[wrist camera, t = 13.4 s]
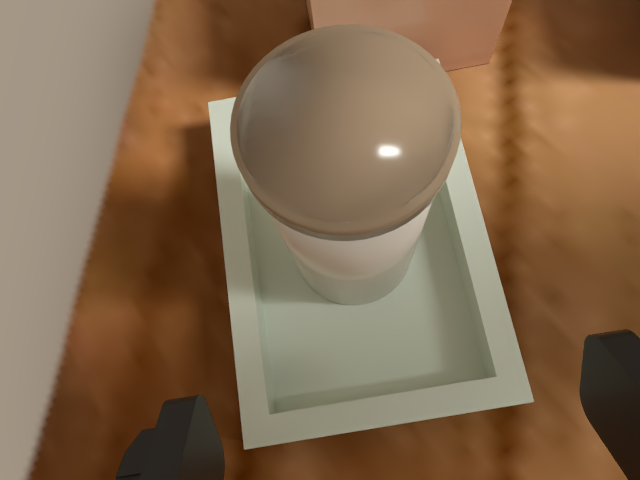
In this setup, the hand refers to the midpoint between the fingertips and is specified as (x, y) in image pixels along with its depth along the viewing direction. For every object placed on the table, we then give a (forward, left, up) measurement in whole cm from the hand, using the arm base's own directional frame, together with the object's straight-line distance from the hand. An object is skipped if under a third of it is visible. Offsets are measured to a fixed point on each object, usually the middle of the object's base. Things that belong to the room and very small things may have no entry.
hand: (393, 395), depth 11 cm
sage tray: (0, -6, -10) cm, 11 cm away
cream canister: (0, -6, -9) cm, 10 cm away
